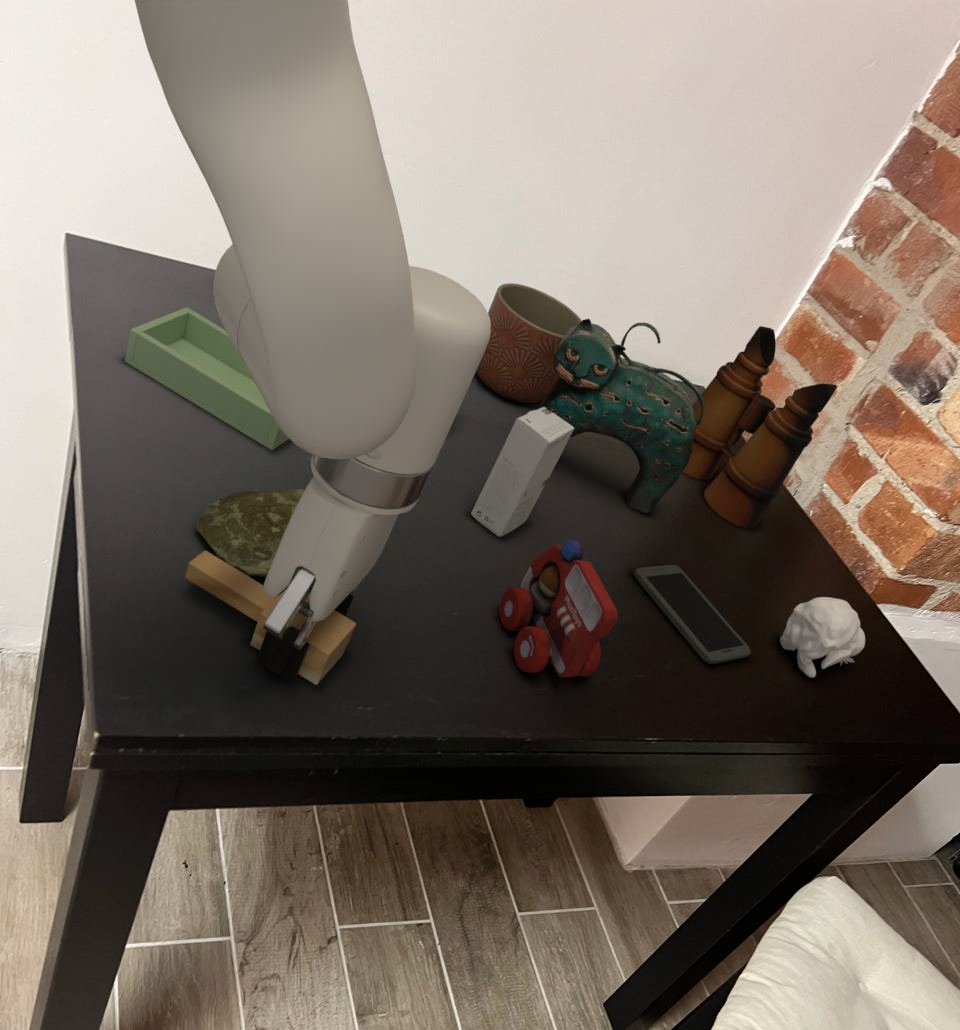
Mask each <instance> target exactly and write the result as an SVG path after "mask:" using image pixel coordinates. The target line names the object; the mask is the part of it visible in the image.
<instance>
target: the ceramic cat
mask: <svg viewBox="0 0 960 1030" xmlns="http://www.w3.org/2000/svg"><path fill="white" fill-rule="evenodd" d="M581 320H582V322H580V323H579V324H576V325H574V326H573V327H571V328H570V329H569V330H568V331H567V333H566V334H565V335H564V337H563V338H562V340H561V342H560V343H559V345H558V347H557V349H556V351H555V354H554V362H553V363H554V370H555V372H556V374H557V375H558V377H559V379H558V380H557V381H556V383H555V384H554V385H553V387H552V388H551V390H550V391H549V393H548V394H547V396H546V397H545V398H544V399H543V400H541V402H540V405H539V406H538V408H537V410H538V409H540V408H542V407H545V408H547V409H548V410H550V411H551V412H553V413H554V414H556V415H557V416H558V417H560V418H561V419H563V420H564V421H566V422H567V423H569V424H570V425H571V426H573V427H574V430H573V432H572V434H571V436H570V438H569V439H571V438H573V437H576V436H578V435H581V434H584V433H594V434H598V435H603V436H606V437H610V438H613V439H616V440H618V441H619V442H622V443H624V444H625V445H626V446H627V447H629V448H630V449H631V450H632V452H633V453H634V456H635V457H636V460H637V462H638V467H639V470H638V472H637V474H636V476H635V478H634V480H633V482H632V483H631V484H630V486H629V488H628V489H627V492H626V503H627V505H628V506H629V507H631V508H632V509H633V510H635V511H639V512H641V513H644V514H649V513H650V512H651V511H652V509H653V508H654V507H655V506H656V504H658V502H659V501H660V500H661V499H662V498H663V497H664V496H665V494H667V492H668V491H669V490H670V489H671V488H672V487H673V486H674V485H675V484H676V482H677V481H678V480H679V478H680V476H681V474H682V473H683V471H684V469H685V468H686V466H687V464H688V463H689V460H690V458H691V455H692V451H693V441H694V435H695V431H696V425H700V424H701V421H702V417H703V413H704V403H703V398H702V395H701V394H702V393H701V391H700V390H699V389H698V387H696V385H695V384H693V382H692V381H690V380H689V379H687V378H686V377H684V376H683V375H681V374H680V373H677V372H675V371H673V370H670V369H666V368H662V367H661V368H659V367H653V366H650V365H648V364H645V363H643V362H639V361H635V360H632V359H631V358H630V357H629V356H628V355H627V353H626V352H625V351H626V349H627V348H626V347H625V342H626V339H627V337H628V334H629V333H630V332H631V331H632V329H634V328H637V327H646V328H648V329H650V330H651V331H652V332H653V333H654V335H655V337H656V340H657V344H662V343H661V336H660V333H659V331H658V329H657V328H656V327H655V326H653V325H652V324H650V323H648V322H636V323H634V324H632V325H631V326H630V327H629V328H628V330H626V332H625V334H624V335H623V337H622V339H621V341H620V344H617V343H616V342H615V340H614V339H613V337H612V335H611V334H610V333H609V332H608V331H607V329H605V328H604V327H602V326H601V325H598V324H595V323H592V320H591V319H590V318H586V319H581ZM668 374H669V375H670V376H673V377H675V378H677V379H679V380H680V381H681V382H682V383H683V384H684V385H686V386H687V387H688V388H690V389H691V390H692V391H693V393H694V394H695V395H696V398H697V399H698V400H699V403H700V408H701V412H700V417H699V419H698V420H697V419H695V416H694V411H693V407H692V406H693V404H692V401H691V400H690V397H689V396H688V394H687V392H686V391H685V390H684V388H683V387H682V386H681V385H680V384H679V383H677V381H675V380H674V379H673V378H671V377H670V376H669V375H668Z"/></svg>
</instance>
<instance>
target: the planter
mask: <svg viewBox="0 0 960 1030" xmlns="http://www.w3.org/2000/svg"><path fill="white" fill-rule="evenodd" d="M487 313H488V315H489V318H490V323H491V334H490V339H489V342H488V344H487V347H486V350H485V352H484V354H483V357H482V359H481V361H480V363H479V365H478V368H477V370H476V372H475V374H476V375H477V376H478V378H479V379H480V380H481V382H482V383H483V384H484V385H485V386H487V387H488V388H489V389H490V390H491V391H493V392H495V393H496V394H498V395H499V396H501V397H503V398H506V399H509V400H511V401H515V402H517V403H523V404H534V403H538V402H542V401H543V400H544V398H545V397H546V396H547V394H548V393H549V391H550V390H551V388H552V387H553V385H554V384H555V383H556V381H557V380H558V379H559V377H558V375H557V374H556V372H555V370H554V363H553V362H554V354H555V351H556V349H557V347H558V345H559V343H560V342H561V340H562V338H563V337H564V335H565V334H566V333H567V331H568V330H569V329H570V328H571V327H573V326H574V325H576V324H579V323H580V322H582V320H583V319H581V317H580V316H578V314H577V313H576V312H574V310H572V309H571V308H570V307H568V306H567V305H566V304H565V303H563V302H561V301H560V300H558V299H557V298H555V297H554V296H552V295H549V294H548V293H545V292H544V291H541V290H539V289H536V288H534V287H531V286H527V285H524V284H519V283H509V282H508V283H503V284H501V285H500V286H498V287H497V290H496V292H495V294H494V297H493V299H492V301H491V304H490V306H489V309H488V311H487Z"/></svg>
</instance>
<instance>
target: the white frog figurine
mask: <svg viewBox="0 0 960 1030" xmlns="http://www.w3.org/2000/svg"><path fill="white" fill-rule="evenodd" d="M779 644H780V645H781V647H782V649H784V650H787V651H792V652H795V651H796V650H797V654H796V661H797V665H798V668H799V670H800V671H801V672H802V673H803V674H804V675H805V676H806V677H808V678H811V679H812V678H813V679H814V678H815V677H816V676H817V670H816V666H815V665H814V663H813V660H819V659H821V658H823V657H825V658H824V659H823V660H822V661H821V664H820V667H821V669H822V670H825V669H826V668H829V667H831V666H833V665H835V664H839V663H840V665H842V664H843V663H846V664H849V663H855V661H854V659H853V658H852V657H855V656H857V655H858V654H860V653H861V652H862V651H863V649H864V648H865V645H866V635H865V632H864V630H863V629H862V628H861V620H860V618H859V614H858V612H857V611H856V610H855V609H854V608H852V606H851V604H850V603H849V602H848V601H846V600H845V599H841V598H836V597H835V598H834V597H829V596H828V597H827V596H820V597H819V596H818V597H815V598H812V599H811V600H808V601H806V602H801V603H799V604H797V605H796V606H795V608H794V609H793V611H792V612H791V615H790V616H789V617H788V619H787V622H786V626H785V629H784V630H783V634H782V635H781V636H780V637H779ZM848 662H849V663H848Z"/></svg>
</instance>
